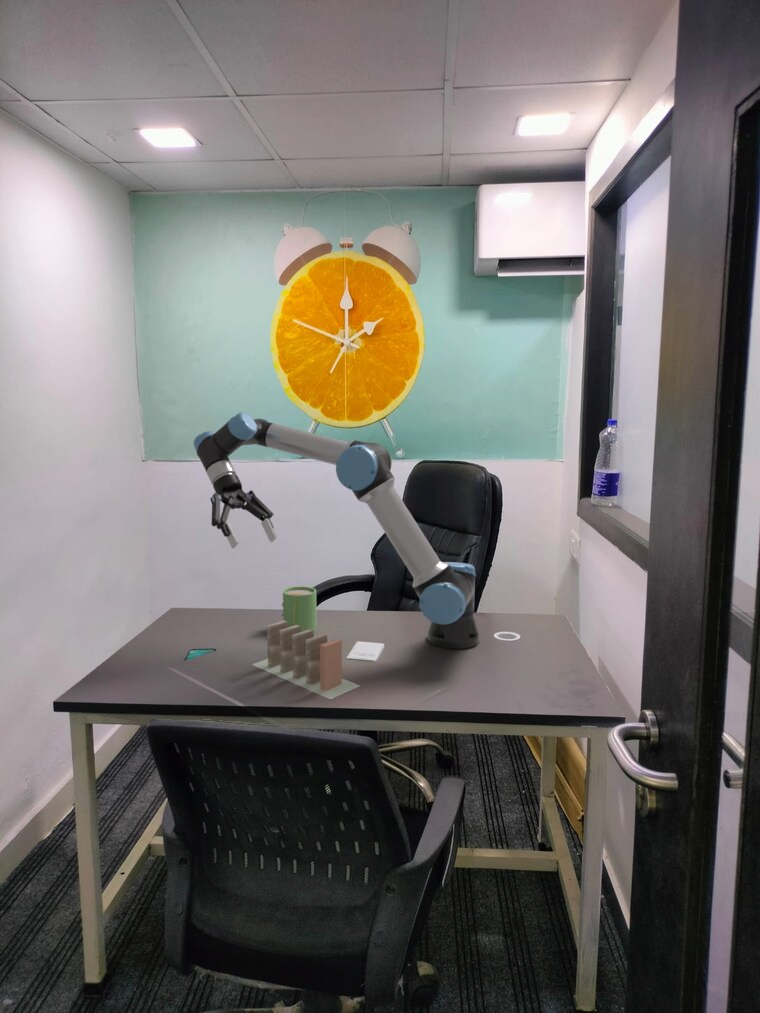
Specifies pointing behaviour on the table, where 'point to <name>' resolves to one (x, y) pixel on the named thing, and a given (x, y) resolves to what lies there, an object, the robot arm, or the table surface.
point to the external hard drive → (366, 651)
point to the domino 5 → (330, 664)
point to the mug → (300, 607)
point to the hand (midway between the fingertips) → (255, 542)
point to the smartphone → (198, 652)
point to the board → (301, 682)
